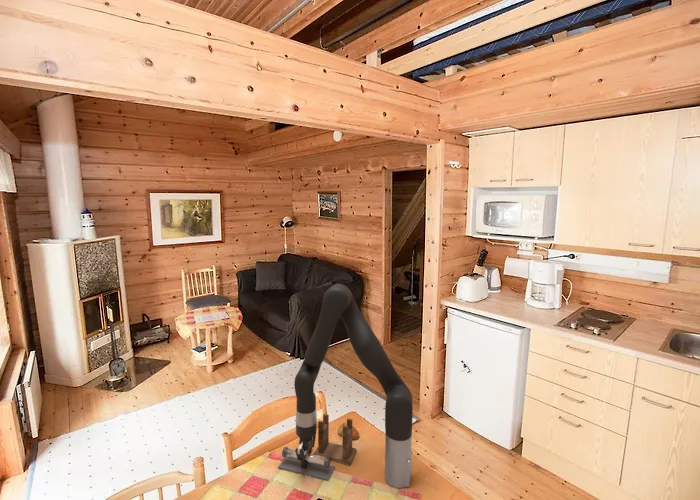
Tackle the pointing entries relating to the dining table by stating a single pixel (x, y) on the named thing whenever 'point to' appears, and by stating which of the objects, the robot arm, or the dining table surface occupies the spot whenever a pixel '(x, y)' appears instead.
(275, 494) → the dining table surface
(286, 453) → the capped glass tube
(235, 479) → the dining table surface
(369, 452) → the dining table surface
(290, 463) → the mat
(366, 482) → the dining table surface
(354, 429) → the pastry
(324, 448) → the rack
